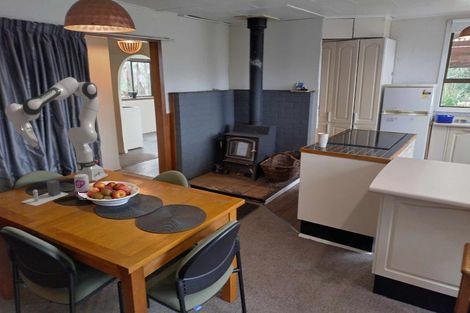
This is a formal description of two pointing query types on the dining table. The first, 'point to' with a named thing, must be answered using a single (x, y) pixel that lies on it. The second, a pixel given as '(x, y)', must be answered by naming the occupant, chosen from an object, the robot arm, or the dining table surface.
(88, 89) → the robot arm
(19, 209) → the dining table surface
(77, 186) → the supplement can
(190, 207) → the dining table surface
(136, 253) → the dining table surface
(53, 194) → the dark grey block
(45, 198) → the post board
